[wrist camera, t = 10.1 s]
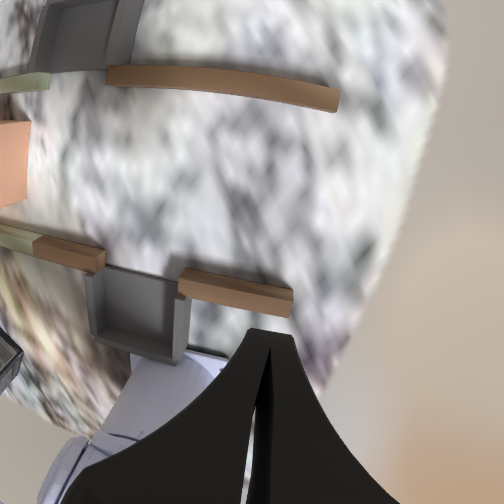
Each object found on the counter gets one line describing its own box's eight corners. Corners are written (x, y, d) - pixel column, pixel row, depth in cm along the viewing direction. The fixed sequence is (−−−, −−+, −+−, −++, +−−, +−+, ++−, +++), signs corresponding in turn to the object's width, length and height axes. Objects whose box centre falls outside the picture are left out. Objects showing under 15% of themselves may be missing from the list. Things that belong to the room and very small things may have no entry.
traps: (187, 350, 23) (180, 367, 21) (47, 306, 24) (34, 318, 22) (240, -10, 14) (234, -23, 12) (61, 4, 14) (45, -2, 13)
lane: (288, 305, 21) (288, 327, 19) (-39, 224, 22) (-56, 232, 20) (336, 93, 16) (344, 87, 14) (-39, 90, 17) (-57, 91, 15)
